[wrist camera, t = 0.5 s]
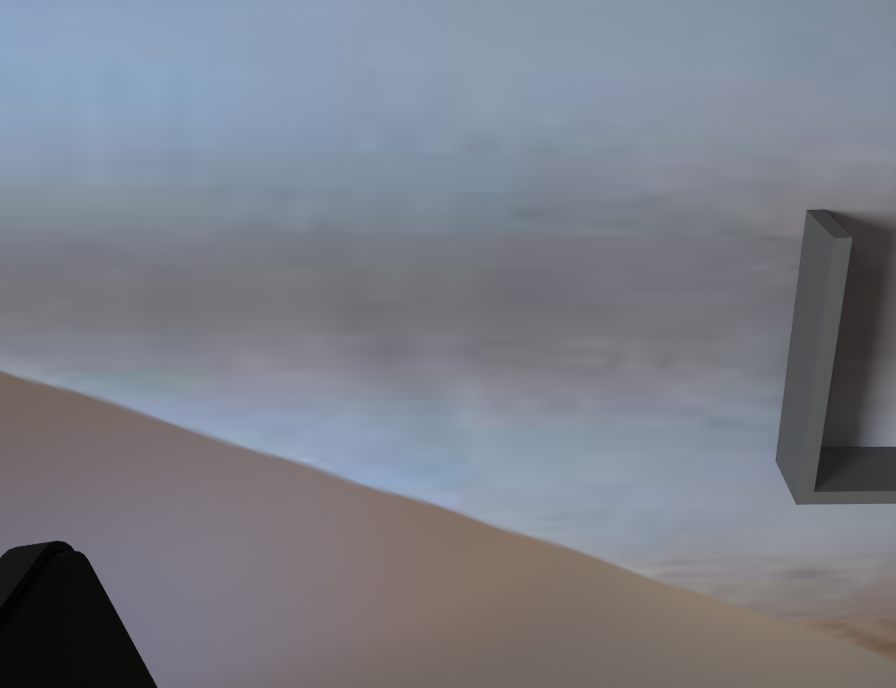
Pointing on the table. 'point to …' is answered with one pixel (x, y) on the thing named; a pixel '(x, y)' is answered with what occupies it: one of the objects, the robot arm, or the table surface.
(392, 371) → the table surface
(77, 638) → the robot arm
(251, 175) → the table surface
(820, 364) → the bin
